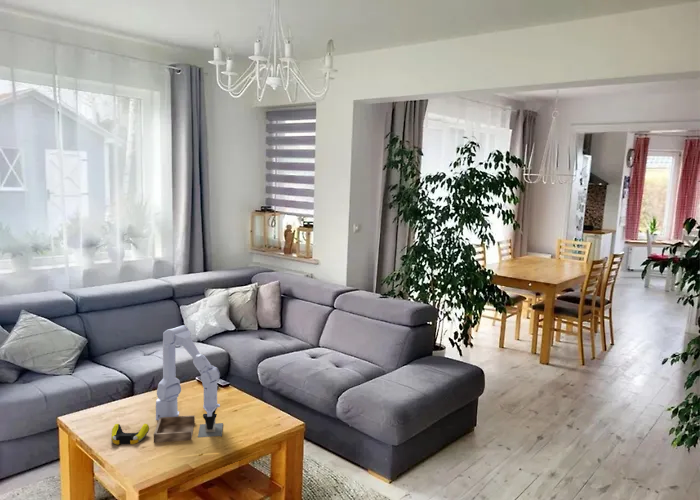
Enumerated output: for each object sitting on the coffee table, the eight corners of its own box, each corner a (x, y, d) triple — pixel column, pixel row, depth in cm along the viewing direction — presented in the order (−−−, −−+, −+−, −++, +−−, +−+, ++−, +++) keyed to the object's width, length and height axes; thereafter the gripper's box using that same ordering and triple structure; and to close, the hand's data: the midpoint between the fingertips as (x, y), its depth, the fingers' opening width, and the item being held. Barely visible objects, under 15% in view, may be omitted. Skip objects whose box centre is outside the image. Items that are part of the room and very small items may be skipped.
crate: (153, 443, 220) (153, 434, 219) (159, 425, 235) (159, 417, 235) (191, 441, 223) (191, 432, 222) (194, 423, 238) (194, 415, 238)
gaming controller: (114, 434, 227) (105, 446, 217) (114, 422, 226) (105, 433, 216) (150, 434, 228) (143, 445, 218) (150, 422, 227) (142, 433, 217)
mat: (197, 438, 225) (197, 437, 225) (200, 425, 237) (200, 424, 237) (221, 436, 227) (221, 435, 227) (222, 424, 239) (222, 423, 239)
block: (205, 432, 229) (205, 419, 229) (206, 428, 233) (206, 415, 233) (214, 431, 230) (214, 418, 229) (215, 427, 234) (215, 414, 233)
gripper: (219, 402, 223) (219, 432, 225) (220, 388, 238) (220, 417, 239) (201, 402, 222) (202, 433, 224) (204, 389, 236) (204, 418, 238)
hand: (210, 425), depth 231 cm, fingers open, 7 cm apart
